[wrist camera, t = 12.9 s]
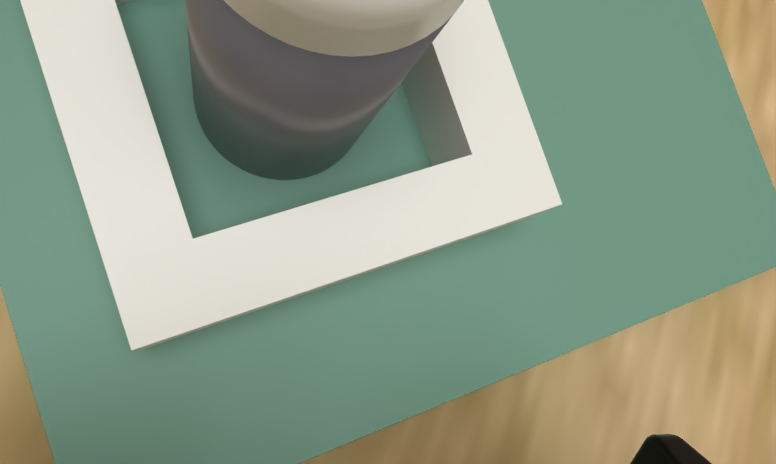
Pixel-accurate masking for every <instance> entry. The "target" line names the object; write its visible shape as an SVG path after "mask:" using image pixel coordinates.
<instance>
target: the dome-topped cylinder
mask: <svg viewBox="0 0 776 464" xmlns="http://www.w3.org/2000/svg"><path fill="white" fill-rule="evenodd" d="M463 2H464V0H185V10H186V21H187V32H188V43H189V54H190V65H191V76H192V87H193V98H194V106H195V111H196V114H197V118H198V121H199V123H200V125H201V128H202V130H203V132H204V133H205V135H206V137H207V138H208V140H209V141H210V143H211V144H212V145H213V146H214V148H215V149H216V150H217V151H218V152H219V153H220V154H221V155H222V156H223V157H224V158H225V159H227V160H228V161H229V162H231V163H232V164H233V165H235V166H237V167H239V168H240V169H242V170H244V171H246V172H248V173H251V174H253V175H256V176H260V177H263V178H268V179H274V180H295V179H302V178H306V177H310V176H313V175H316V174H318V173H321V172H323V171H325V170H326V169H328V168H330V167H331V166H333V165H334V164H336V163H337V162H338V161H339V160H340V159H342V158H343V157H344V156H345V155H346V154H347V152H348V151H349V150H350V149H351V147H352V146H353V145H354V143H355V142H356V141H357V139H358V138H359V137H360V136H361V134H362V133H363V132H364V130H365V129H366V128H367V126H368V125H369V124H370V123H371V121H372V120H373V119H374V117H375V116H376V115H377V113H378V112H379V111H380V110H381V108H382V107H383V106H384V104H385V103H386V102H387V100H388V99H389V98H390V97H391V95H392V94H393V93H394V91H395V90H396V89H397V87H398V86H399V85H400V84H401V82H402V81H403V80H404V78H405V77H406V76H407V75H408V73H409V72H410V71H411V69H412V68H413V67H414V65H415V64H416V63H417V62H418V60H419V59H420V58H421V56H422V55H423V54H424V52H425V51H426V50H427V49H428V47H429V46H430V45H431V43H432V42H433V41H434V39H435V38H436V37H437V36H438V34H439V33H440V32H441V30H442V29H443V28H444V26H445V25H446V24H447V23H448V21H449V20H450V19H451V17H452V16H453V15H454V13H455V12H456V11H457V10H458V8H459V7H460V6H461V4H462V3H463Z"/></svg>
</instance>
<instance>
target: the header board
mask: <svg viewBox="0 0 776 464" xmlns="http://www.w3.org/2000/svg"><path fill="white" fill-rule="evenodd" d="M774 267H776V192H775V189H774V186H773V184H772V181H771V179H770V176H769V173H768V171H767V168H766V166H765V163H764V160H763V158H762V155H761V153H760V150H759V147H758V145H757V142H756V140H755V137H754V134H753V132H752V129H751V127H750V124H749V122H748V119H747V116H746V114H745V111H744V109H743V106H742V103H741V101H740V98H739V96H738V93H737V90H736V88H735V85H734V83H733V80H732V77H731V75H730V72H729V70H728V67H727V65H726V62H725V59H724V57H723V54H722V52H721V49H720V46H719V44H718V41H717V39H716V36H715V33H714V31H713V28H712V26H711V23H710V20H709V18H708V15H707V13H706V10H705V8H704V5H703V2H702V0H464V2H463V3H462V4H461V6H460V7H459V8H458V10H457V11H456V12H455V13H454V15H453V16H452V17H451V19H450V20H449V21H448V23H447V24H446V25H445V26H444V28H443V29H442V30H441V32H440V33H439V34H438V36H437V37H436V38H435V39H434V41H433V42H432V43H431V45H430V46H429V47H428V49H427V50H426V51H425V52H424V54H423V55H422V56H421V58H420V59H419V60H418V62H417V63H416V64H415V65H414V67H413V68H412V69H411V71H410V72H409V73H408V75H407V76H406V77H405V78H404V80H403V81H402V82H401V84H400V85H399V86H398V87H397V89H396V90H395V91H394V93H393V94H392V95H391V97H390V98H389V99H388V100H387V102H386V103H385V104H384V106H383V107H382V108H381V110H380V111H379V112H378V113H377V115H376V116H375V117H374V119H373V120H372V121H371V123H370V124H369V125H368V126H367V128H366V129H365V130H364V132H363V133H362V134H361V136H360V137H359V138H358V139H357V141H356V142H355V143H354V145H353V146H352V147H351V149H350V150H349V151H348V152H347V154H346V155H345V156H344V157H343V158H342V159H340V160H339V161H338V162H337V163H336V164H334V165H333V166H331V167H330V168H328V169H326V170H325V171H323V172H321V173H318V174H316V175H313V176H310V177H306V178H302V179H295V180H274V179H268V178H263V177H260V176H256V175H253V174H251V173H248V172H246V171H244V170H242V169H240V168H239V167H237V166H235V165H233V164H232V163H231V162H229V161H228V160H227V159H225V158H224V157H223V156H222V155H221V154H220V153H219V152H218V151H217V150H216V149H215V148H214V146H213V145H212V144H211V143H210V141H209V140H208V138H207V137H206V135H205V133H204V132H203V130H202V128H201V125H200V123H199V121H198V118H197V114H196V111H195V106H194V98H193V87H192V76H191V65H190V54H189V43H188V32H187V21H186V10H185V0H0V286H1V289H2V292H3V296H4V299H5V302H6V305H7V309H8V312H9V315H10V319H11V322H12V325H13V328H14V332H15V335H16V338H17V341H18V345H19V348H20V351H21V354H22V358H23V361H24V364H25V367H26V371H27V374H28V377H29V380H30V384H31V387H32V390H33V393H34V397H35V400H36V403H37V406H38V410H39V413H40V416H41V420H42V423H43V426H44V429H45V433H46V436H47V439H48V442H49V446H50V449H51V452H52V455H53V459H54V462H55V464H299V463H301V462H303V461H306V460H308V459H311V458H313V457H316V456H318V455H320V454H323V453H325V452H328V451H330V450H332V449H335V448H337V447H340V446H342V445H345V444H347V443H349V442H352V441H354V440H357V439H359V438H362V437H364V436H366V435H369V434H371V433H374V432H376V431H379V430H381V429H383V428H386V427H388V426H391V425H393V424H396V423H398V422H400V421H403V420H405V419H408V418H410V417H412V416H415V415H417V414H420V413H422V412H425V411H427V410H429V409H432V408H434V407H437V406H439V405H442V404H444V403H446V402H449V401H451V400H454V399H456V398H459V397H461V396H463V395H466V394H468V393H471V392H473V391H476V390H478V389H480V388H483V387H485V386H488V385H490V384H492V383H495V382H497V381H500V380H502V379H505V378H507V377H509V376H512V375H514V374H517V373H519V372H522V371H524V370H526V369H529V368H531V367H534V366H536V365H539V364H541V363H543V362H546V361H548V360H551V359H553V358H555V357H558V356H560V355H563V354H565V353H568V352H570V351H572V350H575V349H577V348H580V347H582V346H585V345H587V344H589V343H592V342H594V341H597V340H599V339H602V338H604V337H606V336H609V335H611V334H614V333H616V332H619V331H621V330H623V329H626V328H628V327H631V326H633V325H635V324H638V323H640V322H643V321H645V320H648V319H650V318H652V317H655V316H657V315H660V314H662V313H665V312H667V311H669V310H672V309H674V308H677V307H679V306H682V305H684V304H686V303H689V302H691V301H694V300H696V299H699V298H701V297H703V296H706V295H708V294H711V293H713V292H715V291H718V290H720V289H723V288H725V287H728V286H730V285H732V284H735V283H737V282H740V281H742V280H745V279H747V278H749V277H752V276H754V275H757V274H759V273H762V272H764V271H766V270H769V269H771V268H774Z"/></svg>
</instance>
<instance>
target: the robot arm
mask: <svg viewBox="0 0 776 464" xmlns="http://www.w3.org/2000/svg"><path fill="white" fill-rule="evenodd" d="M631 464H711V463H710V462H709V461H708V460H707V459H706V458H704V457H703V456H702V455H701V454H700V453H698V452H697V451H696V450H695V449H694V448H692V447H691V446H690V445H689V444H688V443H686V442H685V441H684V440H683V439H681V438H680V437H678V436H676V435H671V434H663V435H651V436H649V437H647V438H646V440H645V441H644V443H643V444H642V446H641V447H640V449H639V451H638V452H637V454H636V456H635V457H634V459H633V460H632V462H631Z"/></svg>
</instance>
